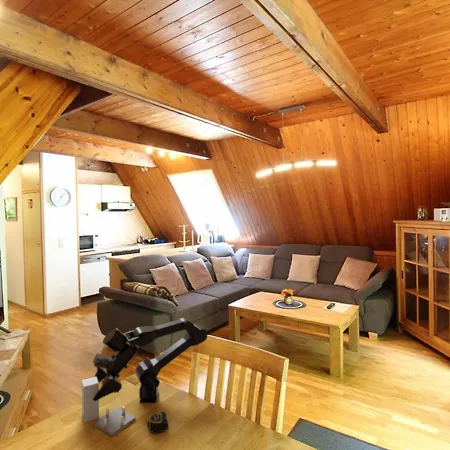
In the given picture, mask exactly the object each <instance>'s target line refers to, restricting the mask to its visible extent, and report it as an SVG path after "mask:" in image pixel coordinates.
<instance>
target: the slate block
mask: <svg viewBox="0 0 450 450" xmlns="http://www.w3.org/2000/svg"><path fill="white" fill-rule="evenodd" d="M99 387H100V382H99V383H98V380H97V377H94V376H93V377H89V378H86V379H82V380H81V400H82V401H81V407H82V410H81V411H82V418H83V422H84V423H86V422H89V421H92V420H95V419H96V420H97V419H100V399H99V400H97V401H94V400H93V398H94V397H95V395H96V394H97V392H98V391H99V389H100V388H99Z"/></svg>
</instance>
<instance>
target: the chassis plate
mask: <svg viewBox="0 0 450 450" xmlns="http://www.w3.org/2000/svg"><path fill="white" fill-rule="evenodd" d="M134 421H136V417H135V416H134V415H132V414H130V413H128V412H126V406H123V405H122V408H119V407H116V408H114V409H112V410H110V407H109V408H108V407H107V408H106V409H105V414H104V415H102V416H101V417H99V418H97V419H96V420H94V422H93V426H94V427H95V428H98V429H99V430H101V431H103V432H104V433H105V434H107V435H109V436H110V437H114V436H116V435H117V434H118V433H119V432H121V431H122V430H124V429H125V428H126V427H128V426H129V425H131V424H132V423H133V422H134Z"/></svg>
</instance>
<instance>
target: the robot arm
mask: <svg viewBox="0 0 450 450" xmlns="http://www.w3.org/2000/svg"><path fill="white" fill-rule="evenodd" d="M182 331H186V332H185V334H184V336H183V337H181V339H179V340H178V341H176V342H175V343H174V344H172V345H171V346H170V347H168V348H167V349H165V350H164V351H163V352H162V353H160V354H159V355H157V356H156V357H155V358H152V359H150V358H149V357H146V358H145V359H144V360H142V361H141V362H139V363H138V365H137V366H136V367H135V370H134V371H135V372H134V373H135V376H136V378H137V380H138V382H139V383H140V386H139V391H138V392H139V393H138V396H139V403H142V404H143V403H145V404H146V403H148V404H150V403H151V404H152V403H153V404H154V403H157V401H158V397H159V395H160V392H159V386H160V382H161V381H160V379H159V378H158V375H159V373H160V372H161V371H162V369H163V368H164V367H166V366H167V365H168V364H170V363H171V362H173V361H174V360H175V359H176V358H178V357H179V356H181V355H182V354H183V353H184V352H186V350H188V349H189V348H191V347H195V346H199V345H200V344H202V343H204V342H205V341H206V340H207V339H208V334H209V333H208V330H207V329H205V328H204V327H203V326H202V325H200V324H198V323H195V324H194V323H193V322H191V321H190V320H189V319H187V318H186V317H180V318H179V319H175V320H172V321H168V322H165V323H162V324H158V325H155V326H153V325H152V326H150V325H149V326H148V325H145V326H144V325H143V326H139V327H136V328H134V329H133V330H130V331H128V332H125V333H123V332H122V331H120V329H119V328H118V327H115V328H114V329H113V330H110V331H109V332H107V334H105V336H104V338H103V340H102V344H104V345H105V346H106V347H107V348H108V349H110V350H112V351H113V352H114V353H112V354H110V355H107V354H102V353H98V352H97V353H96V355H95V356H94V358H93V361H92V363H93V366H94V367H96V372H95V374H94V376H93V377H97V380H98V383H99V384H100V383H101V387H100V388H99V391H98V392H97V394H96V395H95V397H94V398H93V400H94V401H97V400H99V401H100V399H103V398H105V397H106V396H109V395H111V394H113V393H114V394H115V393H116V394H117V393H119V392H120V391H121V390H122V388H123V387H122V386H123V384H122V383H121V380H120V379H119V378H120V373H121V372H122V371H123V370H124V369H127V368H128V367H129V366H128V364H129V363H130V362H131V360H132V359H133V358H134V357H135V355H136V354H138V355H140V356H142V355H143V347H146V346H148V345H150V344H151V343H153V342H155V340H157V339H159V338H162V337H165V336H168V335H172V334H175V333H178V332H182Z"/></svg>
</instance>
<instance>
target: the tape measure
mask: <svg viewBox="0 0 450 450" xmlns="http://www.w3.org/2000/svg"><path fill="white" fill-rule="evenodd" d="M146 424H147V429H148V430H149V431H150V432H152V433H155V434H157V433H158V434H159V433H160V432H163V431H166V430H168V429H169V422H168V420H167V413H166V412H165V411H162V412H156V413H153V414H150V415H149V416H148V419H147V423H146Z"/></svg>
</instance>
